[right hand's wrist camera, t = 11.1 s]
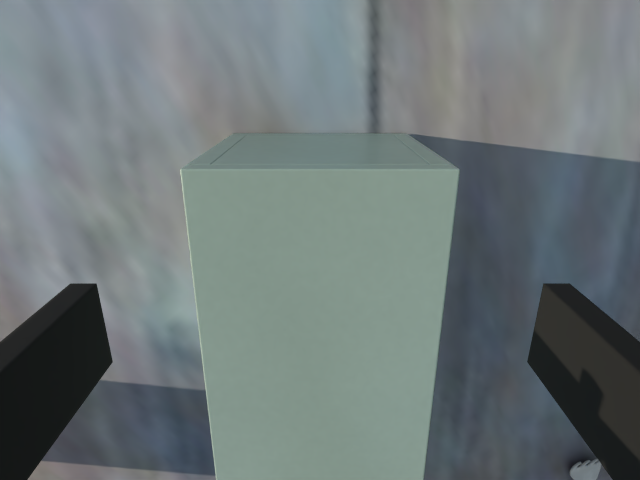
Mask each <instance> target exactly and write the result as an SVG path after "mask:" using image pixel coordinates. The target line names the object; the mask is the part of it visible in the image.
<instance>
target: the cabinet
mask: <svg viewBox="0 0 640 480" xmlns="http://www.w3.org/2000/svg"><path fill="white" fill-rule="evenodd" d="M180 173H181V181H182V190H183V198H184V207H185V216H186V224H187V233H188V241H189V250H190V259H191V267H192V276H193V284H194V293H195V302H196V310H197V319H198V327H199V336H200V345H201V353H202V362H203V370H204V379H205V388H206V396H207V405H208V413H209V422H210V431H211V439H212V448H213V456H214V465H215V474H216V480H424V473H425V465H426V456H427V448H428V439H429V431H430V422H431V414H432V405H433V397H434V388H435V380H436V371H437V363H438V354H439V346H440V337H441V329H442V320H443V312H444V303H445V295H446V286H447V278H448V269H449V261H450V252H451V244H452V235H453V227H454V218H455V210H456V201H457V193H458V184H459V176H460V169H459V168H457V167H456V166H454V165H453V164H451V163H450V162H448V161H447V160H446V159H444V158H443V157H441V156H440V155H438V154H437V153H435V152H434V151H432V150H431V149H429V148H428V147H426V146H425V145H423V144H422V143H420V142H419V141H417V140H416V139H414V138H413V137H411V136H409V135H408V134H401V133H234V134H232V135H230V136H229V137H227V138H226V139H224V140H223V141H221V142H220V143H218V144H217V145H215V146H214V147H212V148H211V149H209V150H208V151H206V152H205V153H203V154H202V155H200V156H199V157H197V158H196V159H195V160H193V161H192V162H190V163H189V164H187V165H186V166H185V167H183V168H182V169H181V170H180Z"/></svg>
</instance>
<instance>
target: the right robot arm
mask: <svg viewBox="0 0 640 480" xmlns="http://www.w3.org/2000/svg"><path fill="white" fill-rule="evenodd" d="M112 362H113V361H112V357H111V352H110V347H109V342H108V337H107V332H106V327H105V323H104V318H103V313H102V308H101V303H100V298H99V293H98V288H97V284H69V285H68V286H67V287H66V288H65V289H63V290H62V291H61V292H60V293H59V294H57V295H56V296H55V297H54V298H53V299H51V300H50V301H49V302H48V303H47V304H45V305H44V306H43V307H42V308H41V309H39V310H38V311H37V312H36V313H35V314H33V315H32V316H31V317H30V318H29V319H27V320H26V321H25V322H24V323H23V324H21V325H20V326H19V327H18V328H17V329H15V330H14V331H13V332H12V333H11V334H9V335H8V336H7V337H6V338H5V339H3V340H2V341H1V342H0V480H27V479H28V478H29V477H30V475H31V474H32V472H33V471H34V470H35V468H36V467H37V465H38V464H39V463H40V461H41V460H42V459H43V457H44V456H45V454H46V453H47V452H48V450H49V449H50V448H51V446H52V445H53V443H54V442H55V441H56V439H57V438H58V437H59V435H60V434H61V432H62V431H63V430H64V428H65V427H66V425H67V424H68V423H69V421H70V420H71V419H72V417H73V416H74V414H75V413H76V412H77V410H78V409H79V408H80V406H81V405H82V403H83V402H84V401H85V399H86V398H87V397H88V395H89V394H90V392H91V391H92V390H93V388H94V387H95V386H96V384H97V383H98V381H99V380H100V379H101V377H102V376H103V374H104V373H105V372H106V370H107V369H108V368H109V366H110V365H111V363H112ZM527 362H528V363H529V365H530V366H531V368H532V369H533V370H534V372H535V373H536V374H537V376H538V377H539V379H540V380H541V381H542V383H543V384H544V386H545V387H546V388H547V390H548V391H549V392H550V394H551V395H552V397H553V398H554V399H555V401H556V402H557V403H558V405H559V406H560V408H561V409H562V410H563V412H564V413H565V414H566V416H567V417H568V419H569V420H570V421H571V423H572V424H573V426H574V427H575V428H576V430H577V431H578V432H579V434H580V435H581V437H582V438H583V439H584V441H585V442H586V443H587V445H588V446H589V448H590V449H591V450H592V452H593V453H594V454H595V456H596V457H597V459H598V460H599V461H600V463H601V464H602V465H603V467H604V468H605V470H606V471H607V472H608V474H609V475H610V477H611V478H612V479H613V480H640V342H639V341H638V340H637V339H635V338H634V337H633V336H632V335H631V334H629V333H628V332H627V331H626V330H625V329H623V328H622V327H621V326H620V325H619V324H617V323H616V322H615V321H614V320H613V319H611V318H610V317H609V316H608V315H607V314H605V313H604V312H603V311H602V310H601V309H599V308H598V307H597V306H596V305H595V304H593V303H592V302H591V301H590V300H589V299H587V298H586V297H585V296H584V295H583V294H581V293H580V292H579V291H578V290H577V289H575V288H574V287H573V286H572V285H571V284H543V288H542V293H541V298H540V303H539V308H538V313H537V318H536V323H535V327H534V332H533V337H532V342H531V347H530V352H529V357H528V361H527Z"/></svg>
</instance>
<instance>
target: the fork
mask: <svg viewBox="0 0 640 480" xmlns="http://www.w3.org/2000/svg"><path fill="white" fill-rule="evenodd" d="M597 461H598V462H597ZM589 462H590V460H587V461H585V462H584V463H581V462H578V463H576V464H575V465H574V466H573V467H572V468H571V469H570V476H571V477H572V479H573V480H597V477H598V474H599V471H600V468H601V463H600V461H599V460H598V459H597V458H596V459H594V460H592V461H591V462H590V463H589ZM595 462H596V463H595ZM588 463H589V464H588ZM580 464H581V465H580ZM586 464H588V465H586ZM579 465H580V466H579ZM577 466H579V467H577Z"/></svg>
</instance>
